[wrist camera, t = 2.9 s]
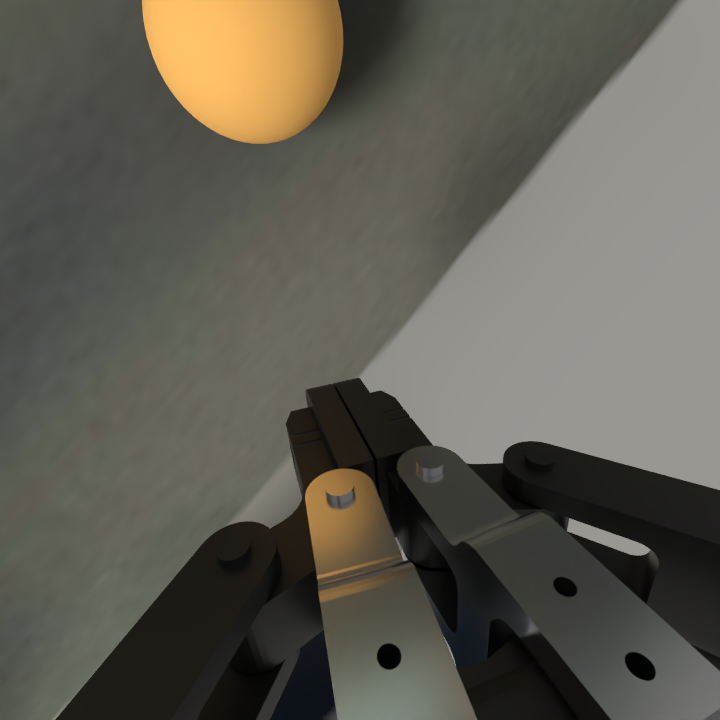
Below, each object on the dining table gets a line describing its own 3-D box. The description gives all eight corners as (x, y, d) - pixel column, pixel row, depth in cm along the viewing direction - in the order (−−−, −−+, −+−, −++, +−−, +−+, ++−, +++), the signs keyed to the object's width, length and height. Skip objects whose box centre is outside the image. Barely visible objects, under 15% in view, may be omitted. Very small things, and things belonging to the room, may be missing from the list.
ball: (132, -48, 13) (82, -180, 8) (309, -43, 14) (359, -155, 9) (181, 154, 15) (165, 146, 10) (328, 141, 16) (375, 129, 12)
